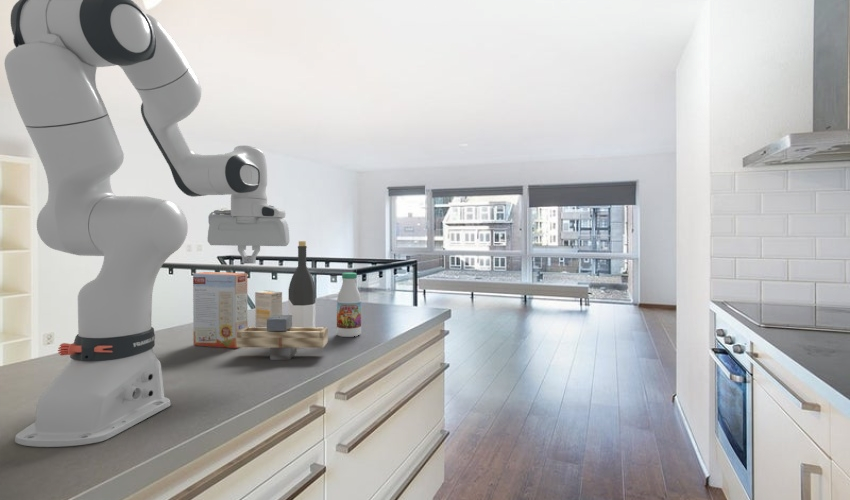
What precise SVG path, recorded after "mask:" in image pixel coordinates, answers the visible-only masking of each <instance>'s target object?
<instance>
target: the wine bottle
mask: <svg viewBox="0 0 850 500" xmlns="http://www.w3.org/2000/svg"><path fill="white" fill-rule="evenodd" d="M307 248H308V247H307V242H306V240H298V246H297V267H296V268H295V271H294V273H293V274H292V277H291V280H290V282H289V286H288V302H287V303H288V308H287V309H288V311H287V312H288V314H287V315H292V327H316V286H315V280H314V277H313V276H312V273H311V272H310V270H309V268H308V266H307Z"/></svg>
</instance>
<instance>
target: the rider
mask: <svg viewBox="0 0 850 500" xmlns="http://www.w3.org/2000/svg"><path fill="white" fill-rule="evenodd" d="M291 327H292V315H288V314H287V315H286V314H282V315H273V316H271V317H270V318H268V319H267V331H289V328H291Z"/></svg>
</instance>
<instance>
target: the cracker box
mask: <svg viewBox="0 0 850 500" xmlns="http://www.w3.org/2000/svg"><path fill="white" fill-rule="evenodd" d="M192 286H193V289H192V292H193V293H192V297H193V298H192V302H193V305H192V308H193V309H192V310H193V311H192V313H193V324H192V325H193V333H192V335H193V346H200V347H215V348H225V349H237V348H238V347H237V332H238V331H240V330H241V329H243V328H245V327H249V326H248V321H249V319H248V273H246V272H224V271H223V272H222V271H221V272H219V271H218V272H217V271H202V272H201V271H200V272H196V273H193V274H192Z"/></svg>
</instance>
